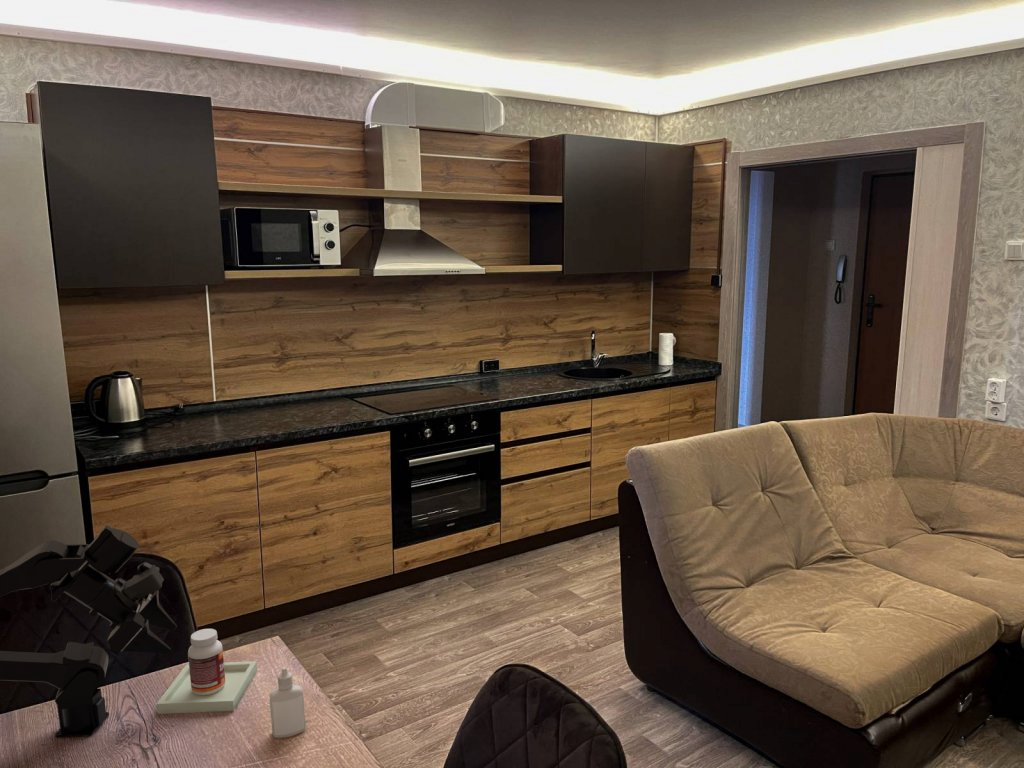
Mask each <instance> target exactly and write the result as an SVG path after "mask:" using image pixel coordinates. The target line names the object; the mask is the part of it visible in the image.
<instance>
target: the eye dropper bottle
mask: <svg viewBox="0 0 1024 768" xmlns="http://www.w3.org/2000/svg"><path fill="white" fill-rule="evenodd" d="M277 686H278V687H277V688H275V689H273V690H272V691H271V692H270V694H269V708H270V709H269V710H270V718H271V721H270V722H271V723H270V724H271V731H272V736H273V737H274V738H276V739H283V738H290V737H293V736H296V735H298V734H300V733H303V732H304V731H305V730H306V727H307V725H306V723H307V722H306V712H305V710H306V709H305V697H304V690H303V687H302V686H301V685H300V684H294V681H293V674H292V673H291V672H290V671H288V669H287V667H286V666H284V667H282V668H281V673H279V674H278V676H277Z"/></svg>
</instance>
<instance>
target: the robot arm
mask: <svg viewBox="0 0 1024 768" xmlns="http://www.w3.org/2000/svg"><path fill="white" fill-rule="evenodd" d="M139 548H140V543H139V541H138V540H137V539H136V537H135V538H134V536H133V535H131V534H130V533H129V532H127V531H125V530H122V529H118V528H115V527H114V528H113V527H111V526H110V525H104V527H103V528H102V529H101V531H100V532H99V534H98V535H97V536H96V537H95V538H94V540H92V542H90V544H89V543H85V544H83V543H79V544H78V543H77V544H75V543H74V544H72V543H71V544H64V542H60V541H57V540H49V541H45V542H43V543H41V544H40V545H38V546H36V547H35V548H32V549H31V550H29V551H28V552H26V553H25V554H24V555H22V556H21V557H20V558H18V559H17V560H15V561H14V562H12V563H10V564H9V565H7V566H5V567H3V568H1V569H0V598H2V597H4V596H6V595H9V594H10V593H14V592H17V591H20V590H29V589H31V590H32V589H35V588H39V587H42V586H47V585H50V586H49V589H50V592H51V593H50V595H51V596H50V598H51V602H56V601H57V600H58V599H59V598H60V597H61V596H62V594H64V593H65V594H66V595H67V596H69V597H71V598H73V599H74V600H76V601H77V602H79V603H80V604H81V605H83V606H85V607H87V609H88V608H89V610H90V611H89V614H88V615H90V616H92V617H94V618H95V616H97V615H99V616H101V617H102V618H104V619H105V620H108V621H109V622H110V624H109V628H110V629H112V631H111V632H110V634H109V635H108V638H107V640H106V649H107V650H108V651H110V652H112V653H113V654H115V655H119V653H121V654H125V653H126V652H127V653H130V652H131V653H146V654H147V653H148V654H157V655H168V654H169V653H170V652H171V649H172V648H171V647H169V646H168V644H167V643H165V641H163V640H162V639H161V638H159V637H158V636H157V635H156V633H154V632H152V631H151V629H150V626H153V627H156V628H160V629H163V630H168V631H169V632H174V631H175V630H176V629H177V627H178V625H177V623H176V622H175V621H173V619H172V618H171V617H170V615H169V614H168V613H167V611H166V610H165V609H164V608H163V606H162V605H161V604H160V601H159V599H160V598H159V593H160V592H159V590H160V589H161V588H162V587H163V582H164V581H165V579H164V577H163V576H162V574H161V573H160V569H161V568H160V567H158V566H157V565H155V564H153V565H152V564H150V563H148V562H146V561H144V562H143V563H140V564H139V565H138V566H137V569H136V574H134V575H133V576H132V578H130V579H128V580H127V581H126V579H125V580H124V579H123V578H121V577H120V578H119V577H117V578H116V579H115V580H114V579H112V578H110V577H109V576H107V575H110V574H112V573H114V574H116V573H117V572H119V570H121V568H122V567H123V566H124V565H125V564H126V563H127V562H128V561H129V560H130V558H131V557H132V556H133V555H134V554H135V552H137V551H138V550H139ZM94 644H95V643H94V642H92V641H91V642H88V643H80V642H75V641H68V642H67V644H66V648H65V649H64V650H61V651H58V652H53V653H51V652H50V653H49V652H30V651H13V650H12V651H9V650H0V681H5V682H6V681H7V682H8V681H9V682H10V681H11V682H34V683H37V682H38V683H46V684H49V685H50V686H52V687H53V686H54V687H55V688H57V689H58V691H57V693H56V695H55V696H56V697H55V700H54V702H55V704H56V707H57V715H58V723H59V729H58V730H57V731H56V732H55V734H54V737H55V738H68V737H69V738H70V737H71V738H72V737H73V738H74V737H90V736H92V735H94V733H95V732H96V731H97V730H98V729H99V728H100V726H102V724H103V723H104V722H105V720H106V719H107V718H108V717H109V715H110V713H109V711H107V708H106V700H105V697H104V696H102V689H101V688H100V687H101V685H102V684H103V683H104V681H105V678H106V675H107V669H108V665H109V655H108V653H107V652H106V651H105V650H104V648H103V647H101V646H98V645H97V646H96V645H94Z"/></svg>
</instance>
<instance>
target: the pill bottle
mask: <svg viewBox="0 0 1024 768" xmlns="http://www.w3.org/2000/svg"><path fill="white" fill-rule="evenodd" d="M190 643H191V645H190V646H189V648H188V649H187V650H188V651H187V658H188V664H189V670H190V680H191V689H192V692H193V693H195V694H197V695H209V694H213V693H215V692H217V691H219V690H221V689H222V688H223V687H224V685H225V671H224V650H223V644H222V642H221V641H219V640H218V632H217V630H216V629H214V628H203V629H199V630H197V631H195V632H192V634H191V635H190Z"/></svg>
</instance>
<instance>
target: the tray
mask: <svg viewBox="0 0 1024 768" xmlns="http://www.w3.org/2000/svg"><path fill="white" fill-rule="evenodd" d="M257 670H258V661H256V660H255V661H254V660H253V661H251V660H250V661H229V662H228V661H227V662H224V671H225V685H224V687H223V688H222V689H221V690H219V691H217V692H215V693H213V694H209V695H197V694H195V693H193V692H192V689H191V680H190V670H189V663H187V664H186V665H185V666H184V667H183V669H182V670H181V671H180V673H179V674H178V675H177V677H176V678H175V679H174V681H173V682H172V683H171V684H170V685H169V687H168V688H167V690H165V692H164V693H163V695H162V696H161V697H160V699H159V700H158V701H157V703H156V712H157V715H159V714H160V715H163V714H164V715H165V714H184V713H185V714H186V713H189V714H190V713H191V714H192V713H208V712H209V713H210V712H213V713H215V712H234V711H235V710H236V709H237V707H238V705H239V703H240V702H241V700H242V698H243V696H244V695H245V693H246V691H247V690H248V688H249V686H250V684H251V683H252V681H253V679H254V677H255V676H256V674H257V672H258V671H259V670H258V671H257Z"/></svg>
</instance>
